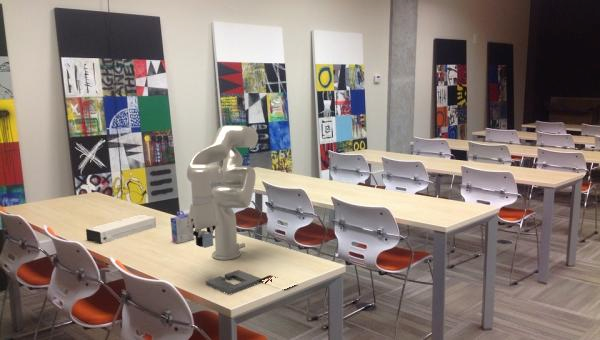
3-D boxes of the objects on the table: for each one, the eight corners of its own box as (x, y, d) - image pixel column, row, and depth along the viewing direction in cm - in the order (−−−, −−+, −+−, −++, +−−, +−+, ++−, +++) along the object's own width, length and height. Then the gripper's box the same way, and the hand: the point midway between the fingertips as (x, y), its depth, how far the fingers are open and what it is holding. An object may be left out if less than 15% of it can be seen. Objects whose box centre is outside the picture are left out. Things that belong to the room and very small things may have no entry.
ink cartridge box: (188, 237, 260) (186, 209, 257) (194, 239, 256) (193, 210, 253) (171, 241, 252) (169, 212, 250) (177, 243, 249) (176, 214, 246)
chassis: (238, 273, 209) (238, 269, 209) (261, 282, 200) (261, 278, 199) (205, 284, 198) (205, 281, 197) (229, 294, 188) (228, 290, 188)
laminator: (142, 225, 284) (141, 214, 283) (157, 228, 277) (156, 217, 276) (86, 241, 256) (85, 228, 255) (102, 245, 250) (101, 232, 249)
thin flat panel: (269, 275, 206) (298, 284, 197) (269, 276, 206) (298, 285, 197) (256, 280, 201) (285, 290, 191) (256, 282, 201) (285, 291, 191)
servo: (202, 241, 210) (201, 228, 209) (215, 246, 204) (214, 232, 203) (193, 243, 207) (193, 230, 206) (207, 248, 201) (206, 235, 200)
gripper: (213, 194, 211) (215, 237, 214) (178, 202, 199) (181, 247, 202) (225, 197, 205) (227, 241, 209) (189, 205, 194) (192, 252, 197)
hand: (204, 244), depth 206 cm, fingers closed on servo, 4 cm apart
